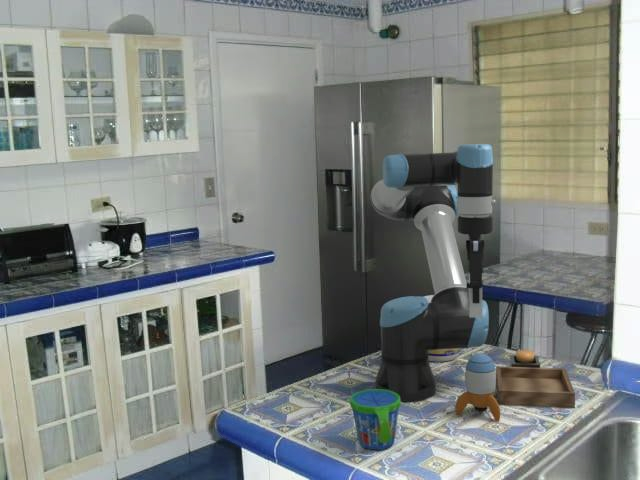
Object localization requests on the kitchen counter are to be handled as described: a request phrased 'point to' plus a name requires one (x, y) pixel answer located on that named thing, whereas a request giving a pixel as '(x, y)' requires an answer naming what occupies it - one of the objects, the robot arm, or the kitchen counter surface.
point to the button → (525, 356)
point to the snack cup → (375, 417)
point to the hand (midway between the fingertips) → (475, 309)
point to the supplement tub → (441, 354)
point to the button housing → (521, 364)
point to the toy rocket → (479, 386)
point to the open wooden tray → (534, 387)
